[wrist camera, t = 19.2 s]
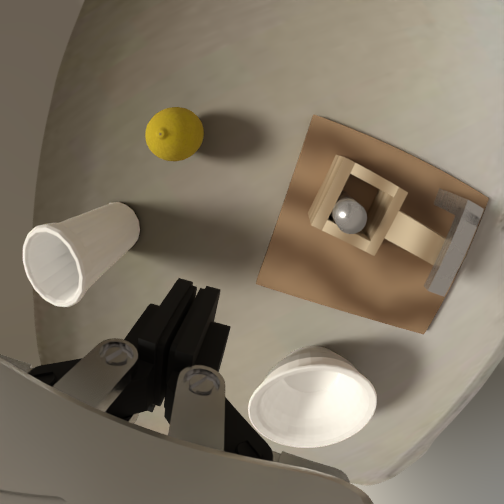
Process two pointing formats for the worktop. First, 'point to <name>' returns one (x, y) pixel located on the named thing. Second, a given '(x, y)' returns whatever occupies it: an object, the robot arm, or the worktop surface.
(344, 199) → the ball
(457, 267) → the bracket
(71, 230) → the cup
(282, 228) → the board
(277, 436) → the bowl
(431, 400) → the worktop surface
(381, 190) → the link
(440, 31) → the worktop surface
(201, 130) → the lemon
